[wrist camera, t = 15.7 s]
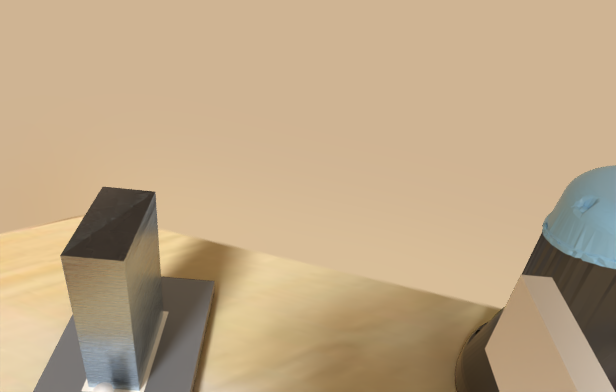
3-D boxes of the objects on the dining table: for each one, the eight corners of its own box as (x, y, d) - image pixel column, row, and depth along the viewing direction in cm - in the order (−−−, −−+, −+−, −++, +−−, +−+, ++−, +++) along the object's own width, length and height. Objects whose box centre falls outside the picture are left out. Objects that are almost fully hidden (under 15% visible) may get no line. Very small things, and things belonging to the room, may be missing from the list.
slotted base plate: (214, 291, 52) (214, 263, 50) (176, 466, 37) (174, 437, 35) (96, 281, 51) (91, 252, 49) (10, 455, 37) (-3, 425, 34)
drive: (163, 314, 47) (155, 191, 39) (139, 390, 40) (123, 261, 32) (119, 311, 47) (102, 186, 39) (88, 387, 40) (60, 255, 32)
